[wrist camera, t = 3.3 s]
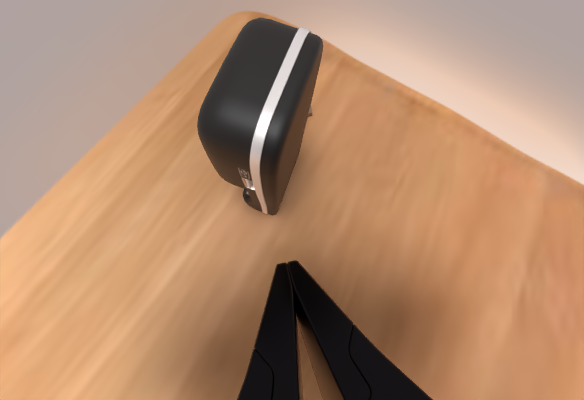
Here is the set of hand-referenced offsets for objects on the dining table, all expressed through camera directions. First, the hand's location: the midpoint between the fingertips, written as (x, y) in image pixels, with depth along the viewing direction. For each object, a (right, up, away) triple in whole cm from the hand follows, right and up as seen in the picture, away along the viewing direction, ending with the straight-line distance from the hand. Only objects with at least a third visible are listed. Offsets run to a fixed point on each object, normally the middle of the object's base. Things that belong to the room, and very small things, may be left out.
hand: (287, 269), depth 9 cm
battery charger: (-2, +5, +10) cm, 12 cm away
